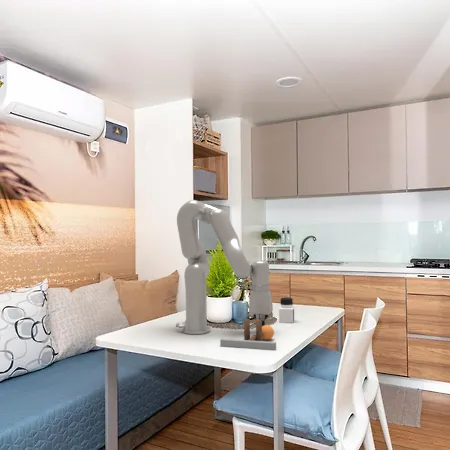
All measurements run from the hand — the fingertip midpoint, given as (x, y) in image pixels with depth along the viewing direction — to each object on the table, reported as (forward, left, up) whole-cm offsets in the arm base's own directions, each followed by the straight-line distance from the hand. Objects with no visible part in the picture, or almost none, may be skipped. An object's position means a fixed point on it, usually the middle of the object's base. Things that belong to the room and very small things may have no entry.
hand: (261, 329), depth 187 cm
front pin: (-5, -12, 0) cm, 14 cm away
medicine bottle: (+17, +21, -2) cm, 27 cm away
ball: (0, -13, +2) cm, 13 cm away
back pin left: (-9, -14, -2) cm, 16 cm away
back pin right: (-4, -16, -2) cm, 16 cm away
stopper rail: (-10, -23, -2) cm, 25 cm away
